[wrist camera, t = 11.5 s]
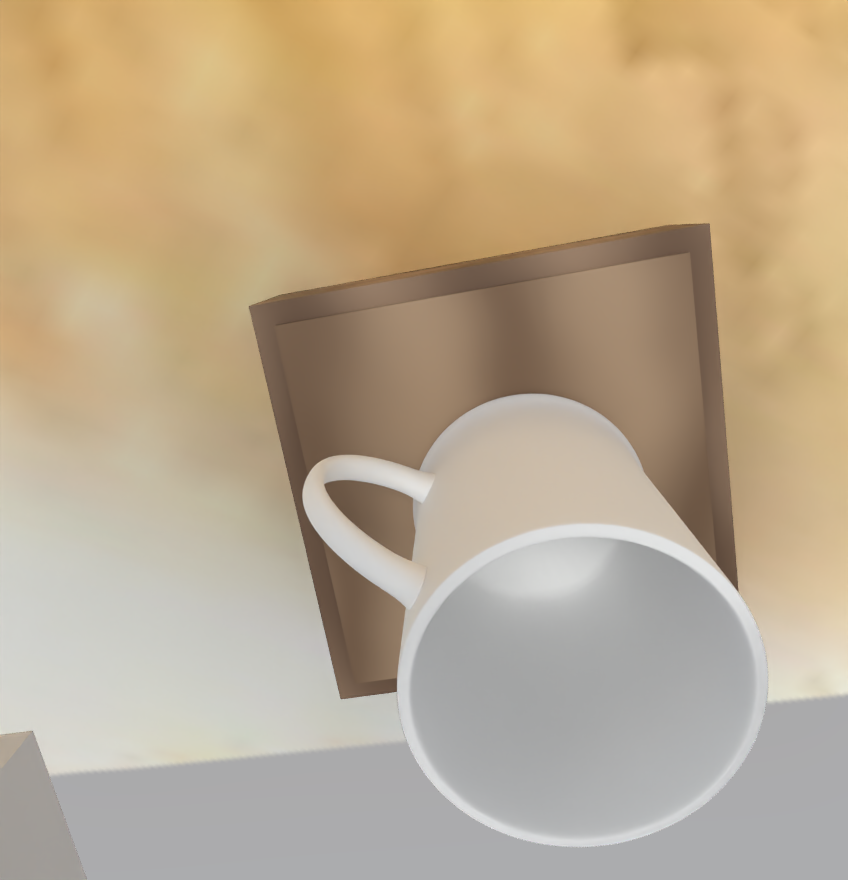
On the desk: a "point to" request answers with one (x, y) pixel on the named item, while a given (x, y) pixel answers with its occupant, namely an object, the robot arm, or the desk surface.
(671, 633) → the mug
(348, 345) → the tray
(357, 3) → the desk surface
